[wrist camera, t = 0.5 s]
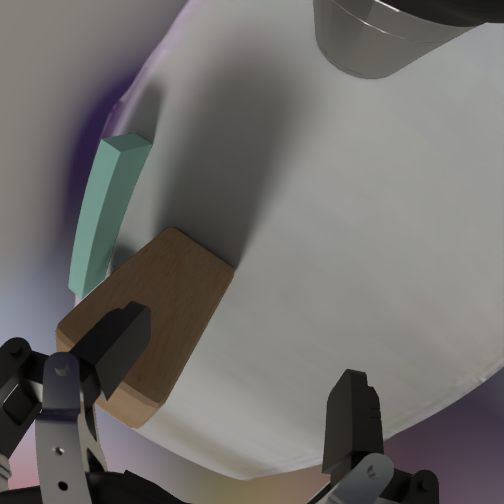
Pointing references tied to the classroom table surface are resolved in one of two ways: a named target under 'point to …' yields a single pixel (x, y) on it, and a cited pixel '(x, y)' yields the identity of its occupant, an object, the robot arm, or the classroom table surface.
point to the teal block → (105, 208)
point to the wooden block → (154, 317)
